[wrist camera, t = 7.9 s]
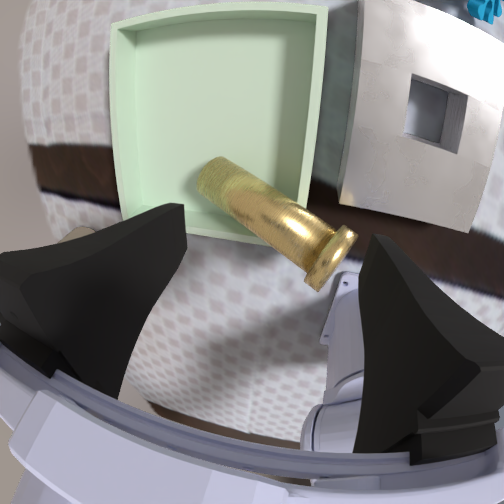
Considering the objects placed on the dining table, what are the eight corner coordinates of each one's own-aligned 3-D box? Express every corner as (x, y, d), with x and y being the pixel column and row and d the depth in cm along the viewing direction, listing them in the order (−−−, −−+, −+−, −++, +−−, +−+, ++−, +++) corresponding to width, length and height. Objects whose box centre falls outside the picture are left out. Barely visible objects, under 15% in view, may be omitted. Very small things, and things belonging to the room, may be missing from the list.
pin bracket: (453, 214, 18) (468, 233, 15) (336, 186, 19) (339, 203, 17) (485, 48, 10) (507, 46, 7) (358, 0, 11) (364, -14, 9)
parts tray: (301, 230, 22) (298, 251, 19) (141, 207, 24) (123, 223, 21) (326, 18, 13) (328, 6, 10) (134, 27, 15) (111, 23, 12)
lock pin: (210, 143, 16) (355, 236, 13) (241, 156, 20) (360, 234, 17) (181, 199, 17) (311, 299, 14) (215, 202, 21) (325, 284, 18)
